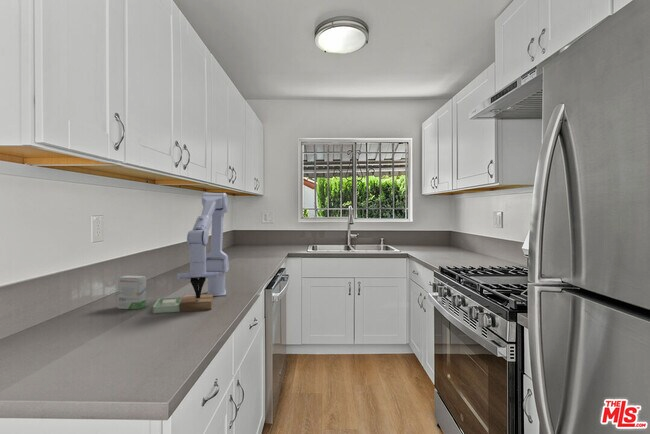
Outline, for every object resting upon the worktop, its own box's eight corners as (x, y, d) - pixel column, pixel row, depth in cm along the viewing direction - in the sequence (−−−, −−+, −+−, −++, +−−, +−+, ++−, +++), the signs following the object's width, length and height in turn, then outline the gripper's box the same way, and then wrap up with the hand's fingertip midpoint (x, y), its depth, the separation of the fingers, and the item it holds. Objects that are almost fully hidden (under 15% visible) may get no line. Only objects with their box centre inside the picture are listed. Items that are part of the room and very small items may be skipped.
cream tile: (176, 299, 143) (176, 303, 143) (164, 299, 142) (164, 303, 142) (174, 301, 139) (174, 306, 139) (161, 302, 138) (161, 306, 138)
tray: (159, 304, 143) (159, 298, 143) (183, 302, 145) (183, 296, 145) (152, 313, 130) (152, 306, 130) (179, 311, 133) (179, 305, 133)
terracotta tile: (184, 299, 138) (183, 295, 138) (196, 298, 139) (196, 294, 139) (182, 302, 134) (182, 298, 134) (195, 301, 135) (195, 297, 135)
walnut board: (183, 302, 145) (183, 295, 145) (212, 300, 148) (212, 293, 148) (179, 311, 133) (179, 303, 133) (211, 309, 135) (211, 301, 135)
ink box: (117, 309, 136) (116, 277, 136) (126, 305, 141) (125, 274, 141) (139, 309, 135) (138, 278, 135) (147, 306, 140) (146, 275, 140)
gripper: (175, 264, 131) (176, 301, 132) (217, 262, 135) (218, 299, 135) (178, 261, 138) (178, 296, 139) (218, 259, 142) (218, 294, 142)
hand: (198, 297), depth 137 cm, fingers closed
